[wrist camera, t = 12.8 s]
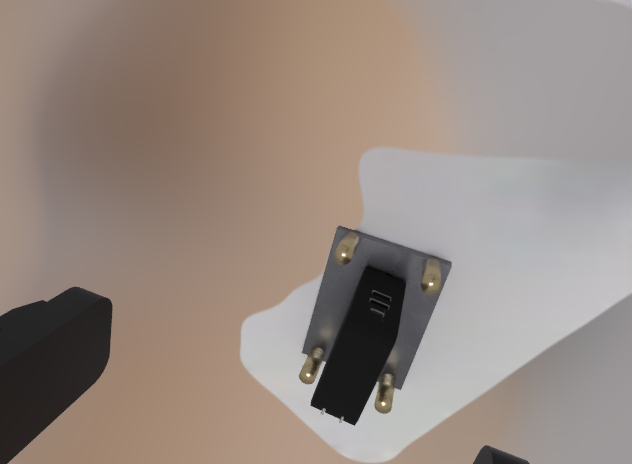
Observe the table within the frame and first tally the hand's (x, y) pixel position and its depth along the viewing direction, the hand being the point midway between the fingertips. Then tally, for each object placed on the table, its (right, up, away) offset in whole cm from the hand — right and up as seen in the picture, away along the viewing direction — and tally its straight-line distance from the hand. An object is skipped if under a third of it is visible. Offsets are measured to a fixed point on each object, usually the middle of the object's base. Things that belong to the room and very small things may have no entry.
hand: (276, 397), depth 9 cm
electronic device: (+6, -5, +36) cm, 37 cm away
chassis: (+6, -4, +36) cm, 37 cm away
